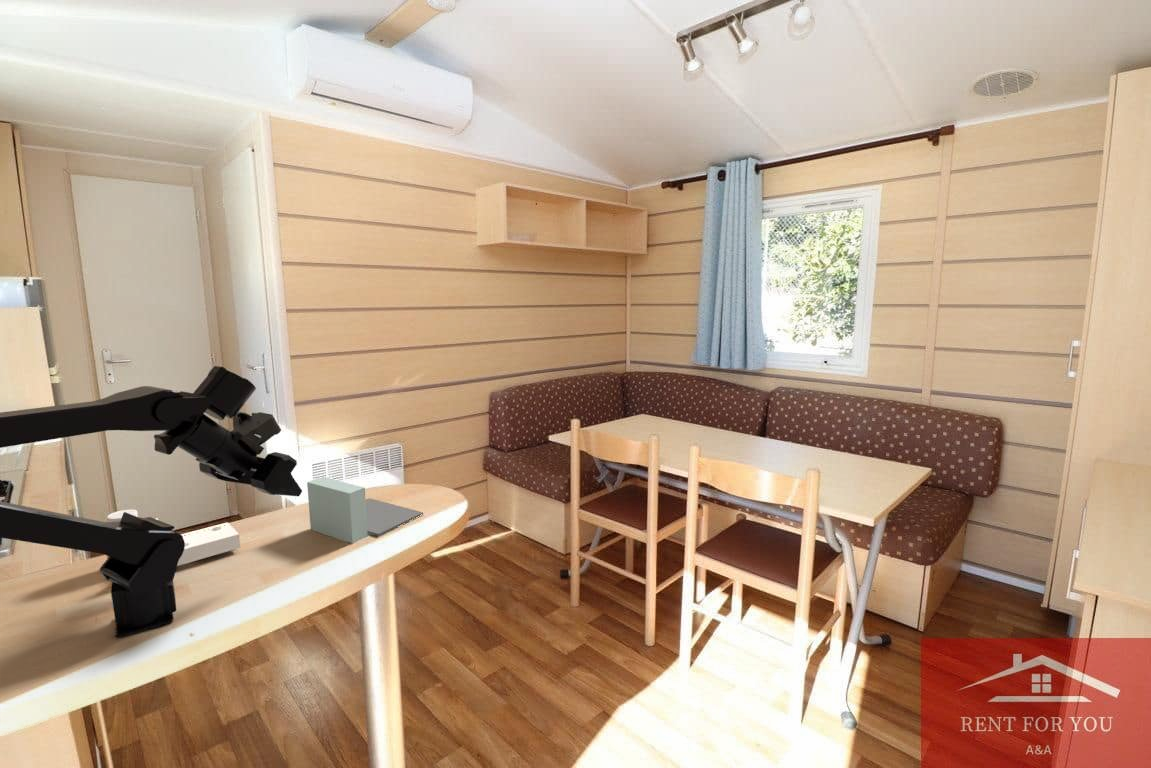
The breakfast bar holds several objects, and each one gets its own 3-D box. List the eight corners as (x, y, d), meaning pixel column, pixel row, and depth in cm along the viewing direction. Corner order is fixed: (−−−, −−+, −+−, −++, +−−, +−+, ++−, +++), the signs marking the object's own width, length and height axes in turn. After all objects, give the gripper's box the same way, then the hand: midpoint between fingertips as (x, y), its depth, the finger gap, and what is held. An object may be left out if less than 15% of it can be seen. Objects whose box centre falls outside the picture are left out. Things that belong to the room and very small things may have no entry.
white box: (152, 578, 92) (146, 535, 91) (144, 563, 97) (138, 522, 95) (240, 552, 101) (237, 512, 100) (229, 539, 106) (225, 502, 105)
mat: (378, 536, 108) (378, 533, 108) (323, 519, 115) (323, 517, 115) (423, 515, 118) (423, 512, 118) (369, 500, 126) (369, 498, 126)
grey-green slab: (352, 544, 105) (349, 493, 103) (310, 530, 111) (307, 482, 109) (367, 536, 108) (364, 487, 106) (326, 523, 114) (322, 476, 112)
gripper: (280, 406, 86) (344, 457, 97) (211, 394, 95) (277, 442, 106) (234, 470, 80) (307, 515, 92) (164, 451, 89) (240, 494, 101)
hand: (283, 488), depth 98 cm, fingers open, 9 cm apart
